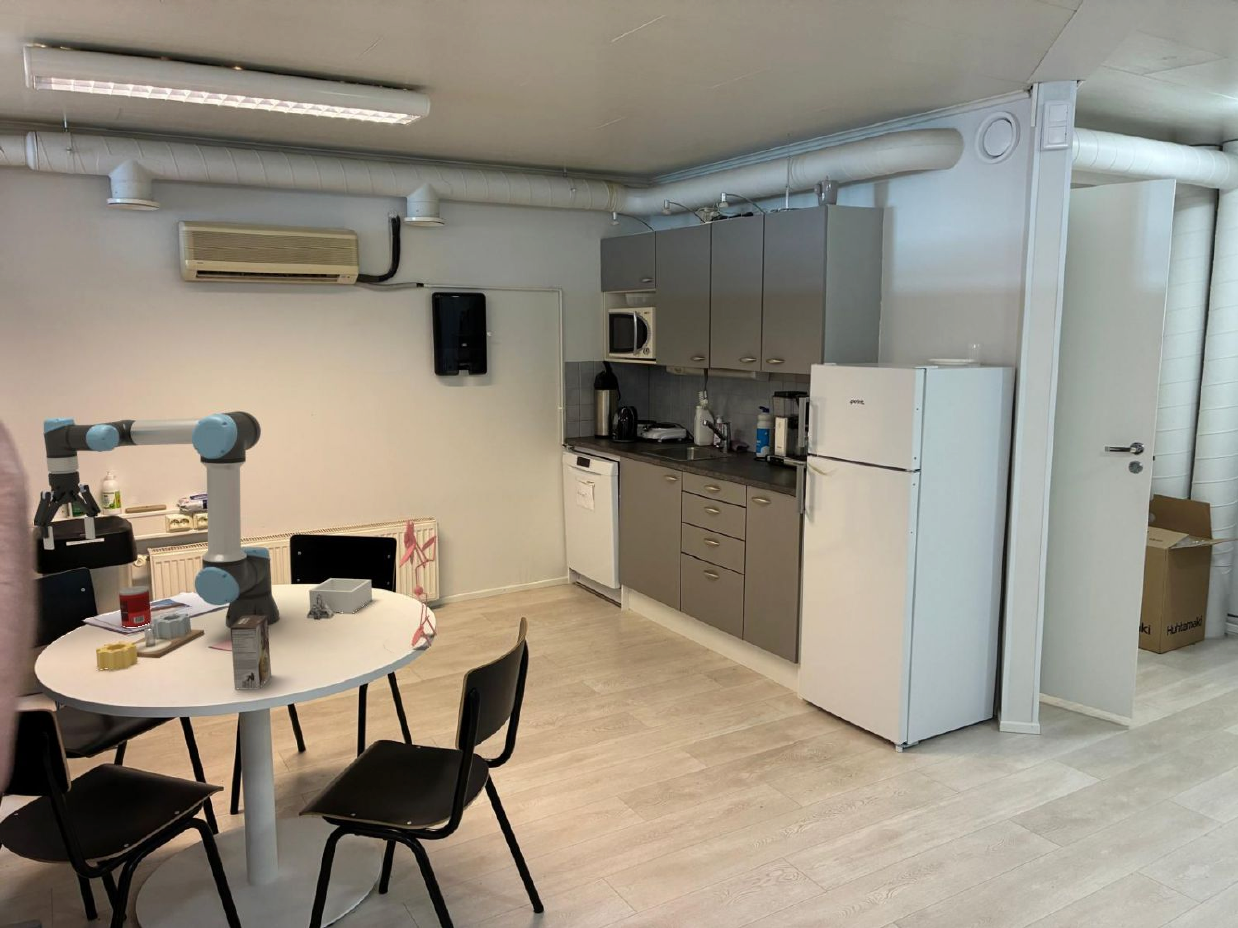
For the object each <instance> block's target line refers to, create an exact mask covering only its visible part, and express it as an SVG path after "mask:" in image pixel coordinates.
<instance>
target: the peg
mask: <svg viewBox="0 0 1238 928" xmlns="http://www.w3.org/2000/svg"><path fill="white" fill-rule="evenodd" d="M144 637H145V643H146V647H153V646H155V645H156V644H155V630H154V627H153V626H152V623H150V624H147V626H146V627H145V628H144Z"/></svg>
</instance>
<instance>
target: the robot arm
mask: <svg viewBox="0 0 1238 928" xmlns="http://www.w3.org/2000/svg"><path fill="white" fill-rule="evenodd" d="M260 425H261V424H260V423H259V421H258V420H257V418H256V417H255V416H253V415H252V414H251V413H249V412H247V411H246V412H245V411H242V410H241V411H239V410H238V411H237V410H236V411H235V410H234V411H230V412H221V413H214V414H210V415H209V416H208V415H207V416H205V417H203V418H201V417H199V418H171V419H170V418H169V419H167V418H165V419H141V420H139V419H138V420H135V419H122V420H118V421H111V422H103V423H95V424H94V423H93V424H76V423H75V420H74V418H73V417H67V416H65V417H64V416H63V417H61V416H60V417H50V418H49V417H48V418H46V419H45V420H44V421H43V438H44V444H45V445H44V447H45V451H46V452H45V453H46V467H47V471H48V472H49V473H48V475H47V476H48V477H47V478H48V485H49V487H50V488H51V489H50V491H45V490H44V491H43V490H42V491H41V492H40V496H39V497H40V500H39V503H38V506H37V509H36V512H35V514H34V518H33V521H34V527H38V528H40V537H41V539H43V548H44V550H55V543H54V533H53V526H50V525H51V523H52V521H53V520H54V519H55V516H56V514H57V513H58V511H59V509H60V508H61V507H63V505H68V504H74V505H75V506H76V508H78V509H79V510H80V511H82V512H83V513H84V514H85V515H86V516H84V517H83V519H84V520H83V522H84V530H85V539H86V540H95V539H96V532H95V531H96V530H95V529H96V517H98V516H99V514H100V513H102V510H101V508H100V506H99V504H98V503H97V501H96V500H95V498H94V496H93V494H92V493H91V490H90V486H89V484H80V483H81V480H80V472H79V471H78V470H79V458H78V452H98V453H99V452H100V453H101V452H102V453H103V452H110V451H114V450H115V448H118V447H126V446H127V447H131V446H132V447H133V446H159V445H160V446H161V445H164V446H167V445H168V446H169V445H192V446H193V448H194V450H196V453H198V455H200V463H201V464H202V465H203V466H205V468H206V500H207V501H206V503H207V504H206V507H207V511H206V512H207V513H206V514H207V551H206V552H205V553H204V554H203V555H202V558H201V560H202V561H201V562H202V563H201V564H202V565H201V567H202V569H200V571H199V572H198V573H197V574H196V575H195V579H194V588H195V592H196V594H197V595H198V597H200V598H201V599H202V600H203V602H205V603H207V604H209V605H211V606H223V605H227V604H229V605H228V607H227V611H226V615H225V625H226V627H227V628H230V629H231V626H233V625H234V624H235V623H236V622H237V621H238V620H239V619H240V618H241V617H242V616H250V615H258V616H266V615H267V621H268V626H271V625H273V624H275V623H277V622H279V620H280V618H281V617H280V610H279V608H278V605H277V603H276V602H275V601H276V600H275V599H274V596H273V591H272V590H273V589H272V587H273V586H272V574H271V573H272V572H271V568H272V567H271V557H270V550H269V549H268V548H266V547H262V546H242V539H241V537H242V533H241V532H242V531H241V530H242V529H241V525H242V523H241V522H242V521H241V467H242V466H243V465H244V464H245V463H246V462H247V460H246V459H247V456H246V454H247V453H246V452H247V451H248V450H250V449H252V448H254V446H256V444H257V443H258V442H259V440H260V438H261V435H262V434H261V433H262V428H261V426H260ZM80 495H81V496H80Z"/></svg>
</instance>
